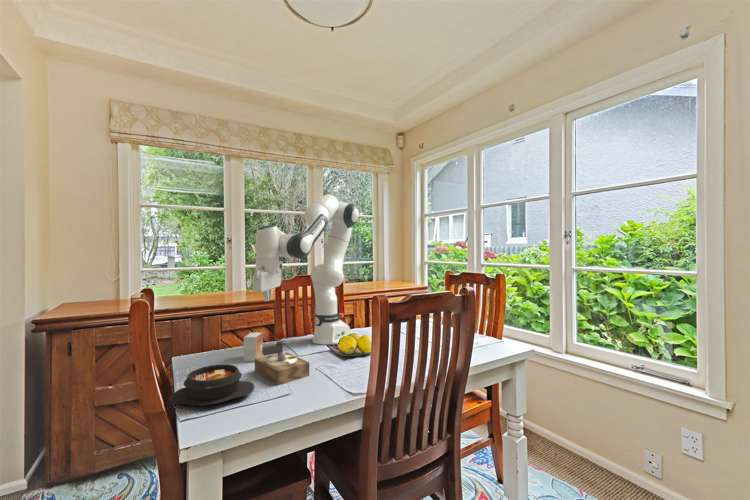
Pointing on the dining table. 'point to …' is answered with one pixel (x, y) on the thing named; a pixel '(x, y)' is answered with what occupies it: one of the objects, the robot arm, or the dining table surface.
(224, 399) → the casserole
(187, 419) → the dining table surface
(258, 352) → the small box
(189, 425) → the dining table surface
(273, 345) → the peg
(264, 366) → the dial block
